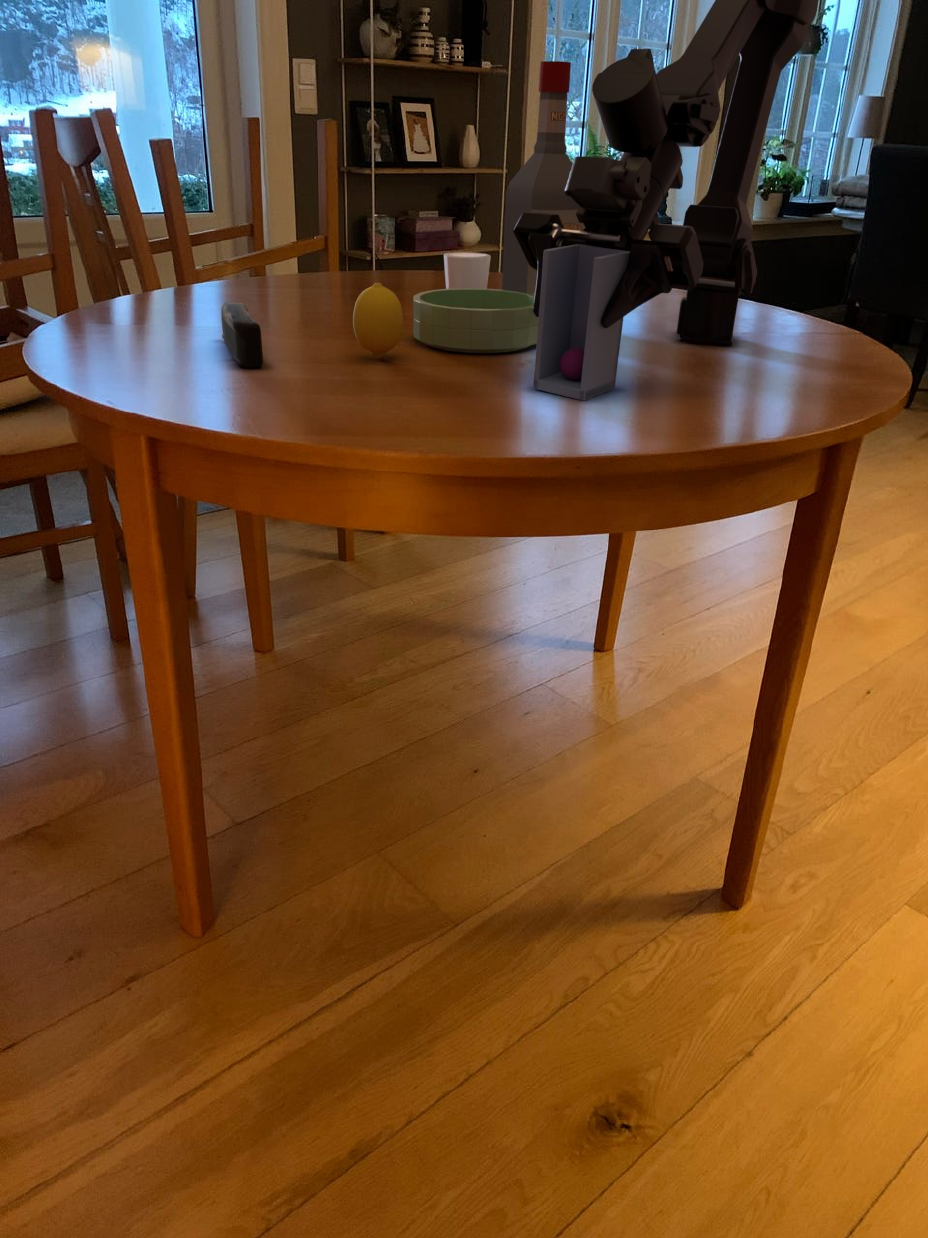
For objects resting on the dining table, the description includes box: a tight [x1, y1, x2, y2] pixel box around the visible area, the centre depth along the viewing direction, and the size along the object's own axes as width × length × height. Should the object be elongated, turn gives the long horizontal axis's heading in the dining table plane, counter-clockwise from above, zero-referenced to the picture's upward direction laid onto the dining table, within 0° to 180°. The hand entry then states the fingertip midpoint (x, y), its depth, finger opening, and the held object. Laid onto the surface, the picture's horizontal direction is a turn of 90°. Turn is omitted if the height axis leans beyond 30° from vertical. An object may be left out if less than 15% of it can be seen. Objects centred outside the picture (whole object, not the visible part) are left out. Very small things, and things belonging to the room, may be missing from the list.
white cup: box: [443, 251, 492, 289], centre depth 130 cm, size 7×7×7 cm
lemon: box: [352, 282, 404, 359], centre depth 99 cm, size 6×6×8 cm
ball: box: [560, 348, 584, 380], centre depth 89 cm, size 3×3×3 cm
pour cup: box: [532, 244, 630, 402], centre depth 87 cm, size 6×6×13 cm
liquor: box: [501, 60, 585, 295], centre depth 113 cm, size 9×9×30 cm
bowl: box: [412, 288, 539, 354], centre depth 109 cm, size 16×16×5 cm
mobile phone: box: [220, 301, 264, 368], centre depth 99 cm, size 5×3×15 cm
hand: (569, 319), depth 86 cm, fingers open, 7 cm apart
